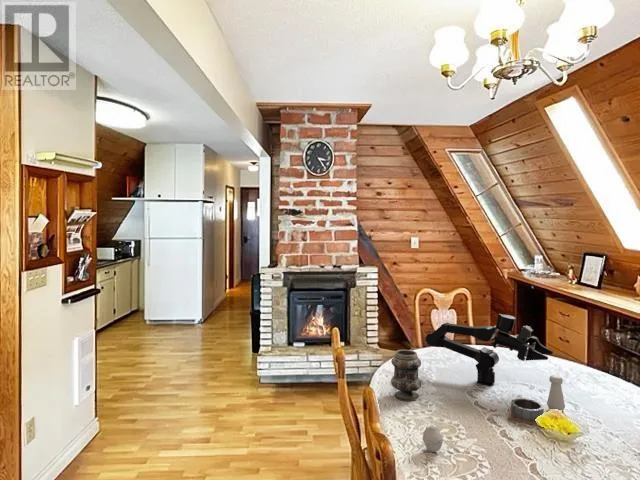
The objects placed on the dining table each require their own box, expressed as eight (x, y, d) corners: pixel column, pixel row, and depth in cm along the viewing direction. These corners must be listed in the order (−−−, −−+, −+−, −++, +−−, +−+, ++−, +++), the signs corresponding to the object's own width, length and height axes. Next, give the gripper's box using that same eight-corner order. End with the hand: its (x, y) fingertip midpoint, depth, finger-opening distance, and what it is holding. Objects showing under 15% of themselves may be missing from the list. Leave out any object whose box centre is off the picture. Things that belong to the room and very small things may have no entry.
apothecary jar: (424, 393, 176) (424, 350, 175) (417, 404, 165) (417, 358, 164) (395, 389, 181) (395, 346, 180) (387, 399, 170) (387, 354, 170)
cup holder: (507, 419, 151) (507, 407, 151) (510, 407, 162) (510, 395, 162) (545, 427, 145) (545, 414, 145) (546, 413, 156) (546, 401, 156)
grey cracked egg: (439, 444, 135) (439, 422, 134) (446, 456, 128) (446, 433, 127) (419, 444, 134) (419, 422, 134) (426, 456, 127) (426, 433, 127)
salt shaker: (567, 415, 155) (567, 379, 154) (550, 414, 156) (550, 378, 155) (561, 408, 160) (561, 374, 160) (544, 407, 161) (545, 373, 161)
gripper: (508, 327, 172) (550, 341, 163) (520, 319, 187) (559, 332, 177) (501, 353, 174) (543, 368, 165) (514, 343, 189) (553, 357, 179)
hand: (550, 355), depth 171 cm, fingers open, 9 cm apart
